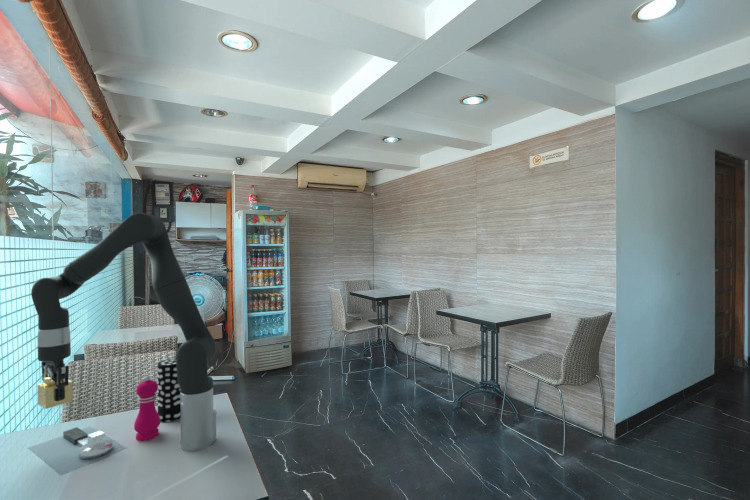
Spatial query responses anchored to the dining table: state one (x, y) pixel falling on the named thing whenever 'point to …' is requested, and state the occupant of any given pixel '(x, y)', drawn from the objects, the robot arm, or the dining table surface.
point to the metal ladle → (89, 443)
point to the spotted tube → (168, 391)
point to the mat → (67, 453)
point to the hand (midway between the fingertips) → (55, 397)
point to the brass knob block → (52, 393)
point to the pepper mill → (147, 411)
